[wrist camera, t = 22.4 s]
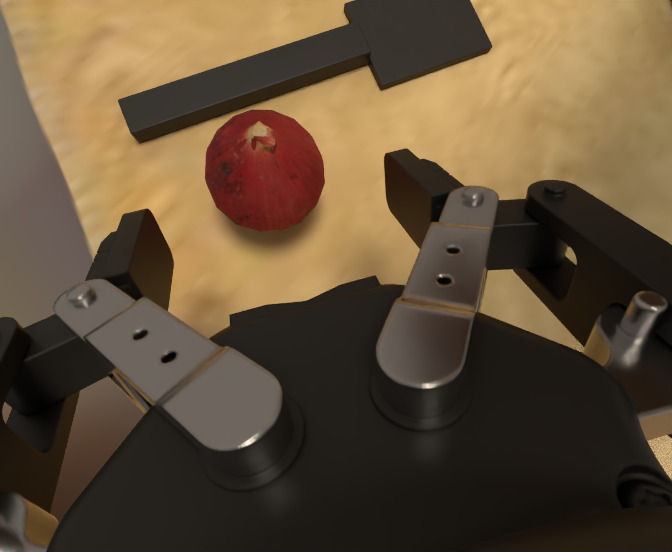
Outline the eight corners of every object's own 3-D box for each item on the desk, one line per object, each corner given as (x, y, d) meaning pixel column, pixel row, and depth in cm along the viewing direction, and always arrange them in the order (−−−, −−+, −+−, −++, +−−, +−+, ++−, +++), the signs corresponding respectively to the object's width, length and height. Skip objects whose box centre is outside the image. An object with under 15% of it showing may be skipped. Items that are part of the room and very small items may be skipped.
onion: (246, 260, 22) (215, 225, 15) (206, 173, 23) (156, 94, 15) (336, 221, 23) (353, 167, 15) (296, 137, 24) (292, 43, 16)
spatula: (451, -26, 26) (458, -43, 25) (489, 51, 26) (498, 38, 24) (115, 83, 23) (105, 70, 22) (150, 172, 23) (142, 163, 22)
